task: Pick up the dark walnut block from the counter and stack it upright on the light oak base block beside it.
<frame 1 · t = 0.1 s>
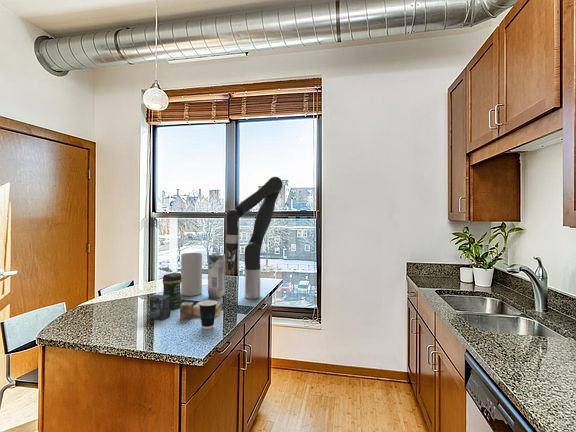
hand: (230, 268, 199), 17 cm above the counter, tool pointing down, fingers open, 8 cm apart
dixie cup: (207, 327, 147), on the counter
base: (207, 312, 168), on the counter
coffee jar: (171, 308, 176), on the counter
box: (159, 318, 159), on the counter
cylinder vase: (191, 294, 206), on the counter
walnut block: (186, 318, 159), on the counter
juice carton: (216, 296, 200), on the counter
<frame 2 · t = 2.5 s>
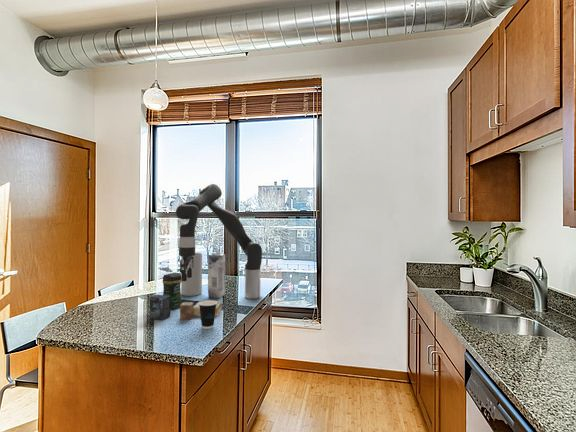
hand: (186, 279, 159), 19 cm above the counter, tool pointing down, fingers open, 8 cm apart
nothing on the counter moved.
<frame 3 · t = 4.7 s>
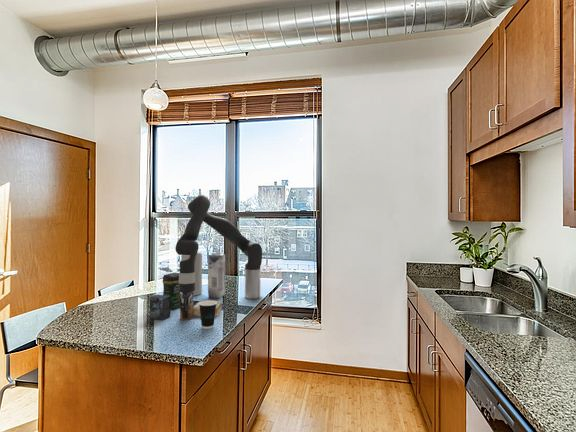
hand: (186, 316, 159), 1 cm above the counter, tool pointing down, fingers closed on walnut block, 5 cm apart
walnut block: (186, 318, 159), on the counter, touching gripper
everything else where it was.
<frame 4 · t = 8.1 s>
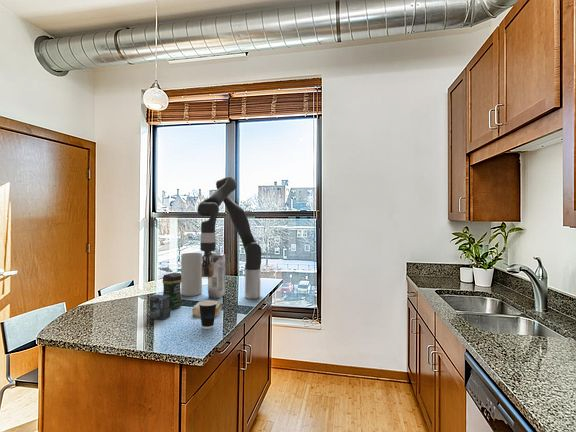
hand: (207, 274, 168), 20 cm above the counter, tool pointing down, fingers closed on walnut block, 5 cm apart
walnut block: (207, 276, 168), point 19 cm above the counter, touching gripper
everything else where it was.
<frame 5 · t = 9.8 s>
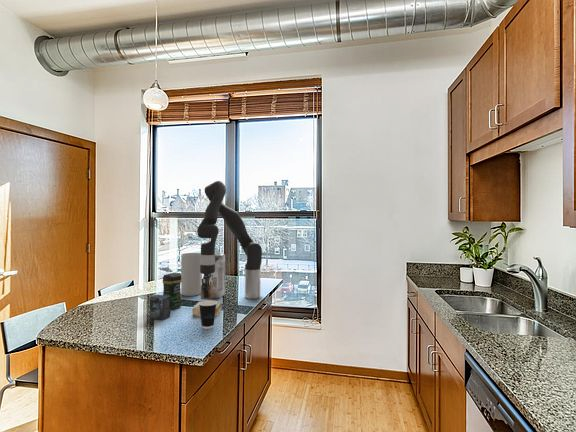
hand: (207, 296, 168), 8 cm above the counter, tool pointing down, fingers closed on walnut block, 5 cm apart
walnut block: (207, 298, 168), point 7 cm above the counter, touching gripper
everything else where it was.
when the fingers open (6 cm above the counter, at t = 11.2 s): walnut block drops 1 cm, resting on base.
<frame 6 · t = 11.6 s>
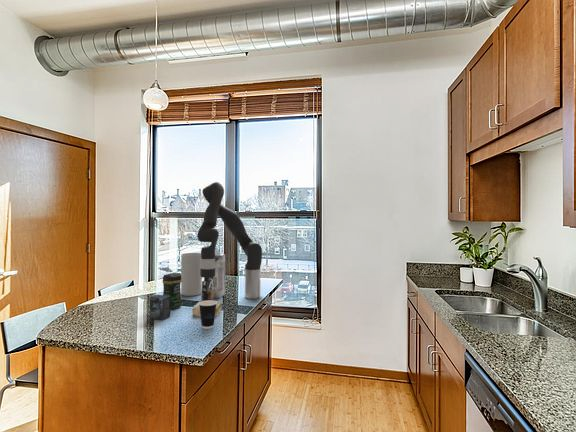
hand: (207, 298, 168), 7 cm above the counter, tool pointing down, fingers open, 8 cm apart
walnut block: (207, 304, 168), point 4 cm above the counter, touching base
everything else where it was.
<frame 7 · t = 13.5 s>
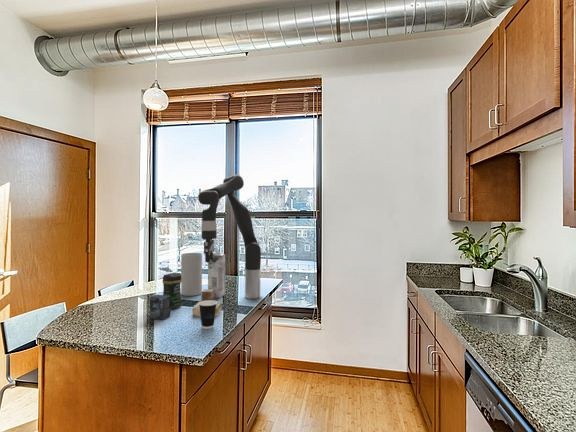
hand: (209, 260, 170), 26 cm above the counter, tool pointing down, fingers open, 8 cm apart
nothing on the counter moved.
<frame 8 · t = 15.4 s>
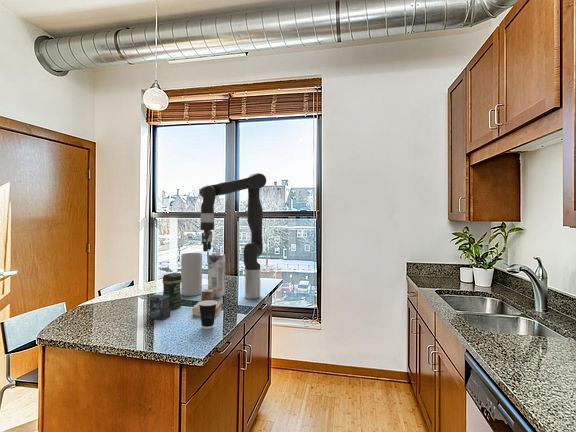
hand: (207, 250, 183), 30 cm above the counter, tool pointing down, fingers open, 8 cm apart
nothing on the counter moved.
at the end: walnut block inside the target area on the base (0.0 cm from its centre), point 4.3 cm above the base's base; walnut block tilted 0°; the gripper is holding nothing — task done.
